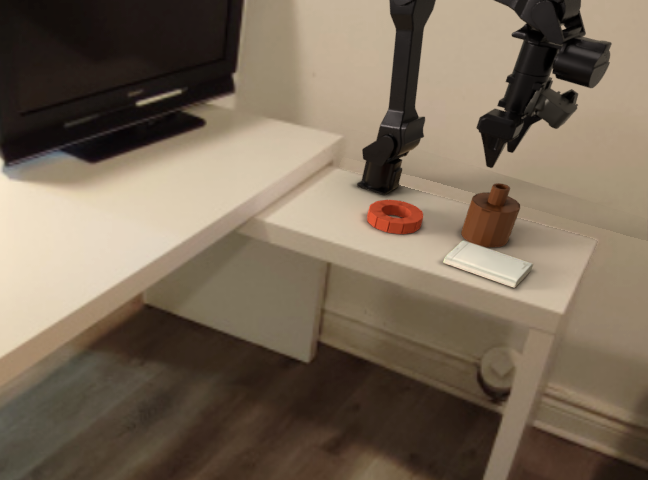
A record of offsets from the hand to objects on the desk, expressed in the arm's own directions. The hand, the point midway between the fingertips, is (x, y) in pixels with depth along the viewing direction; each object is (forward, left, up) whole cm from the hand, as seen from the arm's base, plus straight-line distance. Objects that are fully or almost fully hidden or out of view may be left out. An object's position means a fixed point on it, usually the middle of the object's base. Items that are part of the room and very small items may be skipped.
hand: (500, 159), depth 142 cm
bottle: (+3, -3, -13) cm, 14 cm away
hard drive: (+8, -14, -14) cm, 21 cm away
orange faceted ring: (-12, -10, -13) cm, 21 cm away
